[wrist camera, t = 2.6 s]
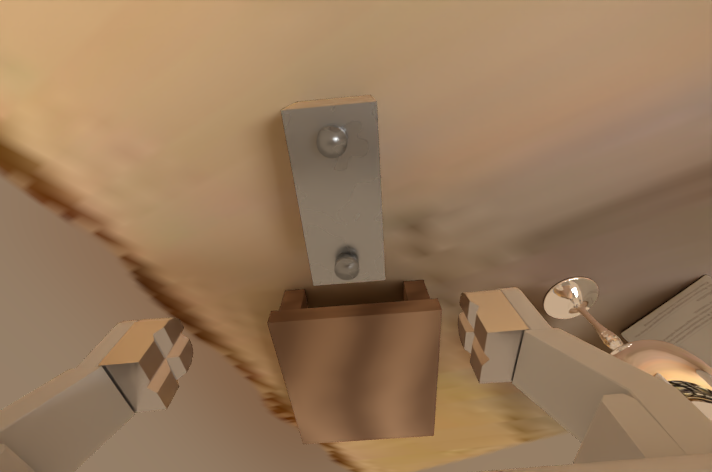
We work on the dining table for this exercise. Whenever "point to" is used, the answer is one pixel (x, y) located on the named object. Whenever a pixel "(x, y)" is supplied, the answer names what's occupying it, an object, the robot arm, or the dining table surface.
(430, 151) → the dining table surface
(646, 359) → the wineglass
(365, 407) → the stand
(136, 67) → the dining table surface
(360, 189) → the plate
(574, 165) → the dining table surface
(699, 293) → the skincare box
